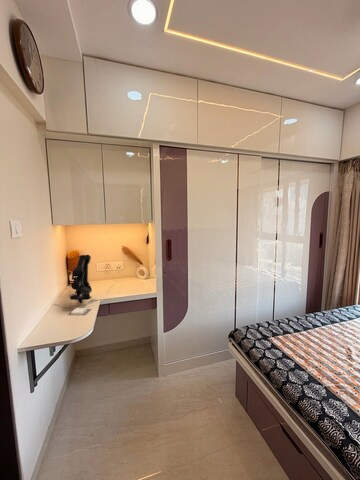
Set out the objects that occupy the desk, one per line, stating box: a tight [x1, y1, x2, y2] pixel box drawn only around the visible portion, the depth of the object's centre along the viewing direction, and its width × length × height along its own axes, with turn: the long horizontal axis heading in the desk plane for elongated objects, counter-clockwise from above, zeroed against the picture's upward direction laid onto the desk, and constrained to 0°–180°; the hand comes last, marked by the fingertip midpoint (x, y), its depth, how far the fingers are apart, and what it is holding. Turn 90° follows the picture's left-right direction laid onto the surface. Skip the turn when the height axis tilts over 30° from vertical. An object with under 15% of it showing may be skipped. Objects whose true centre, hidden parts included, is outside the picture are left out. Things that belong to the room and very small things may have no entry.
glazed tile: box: [70, 307, 88, 316], centre depth 154 cm, size 2×8×7 cm
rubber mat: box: [67, 308, 93, 316], centre depth 156 cm, size 10×14×1 cm
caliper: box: [73, 298, 98, 310], centre depth 167 cm, size 20×1×6 cm
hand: (81, 303), depth 165 cm, fingers closed
